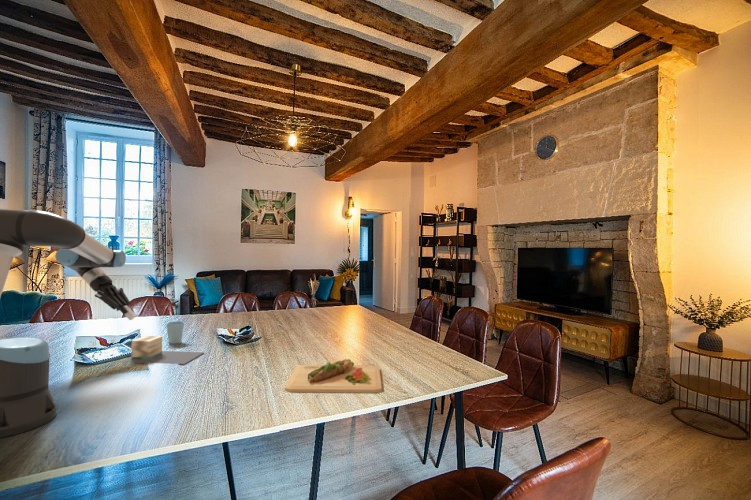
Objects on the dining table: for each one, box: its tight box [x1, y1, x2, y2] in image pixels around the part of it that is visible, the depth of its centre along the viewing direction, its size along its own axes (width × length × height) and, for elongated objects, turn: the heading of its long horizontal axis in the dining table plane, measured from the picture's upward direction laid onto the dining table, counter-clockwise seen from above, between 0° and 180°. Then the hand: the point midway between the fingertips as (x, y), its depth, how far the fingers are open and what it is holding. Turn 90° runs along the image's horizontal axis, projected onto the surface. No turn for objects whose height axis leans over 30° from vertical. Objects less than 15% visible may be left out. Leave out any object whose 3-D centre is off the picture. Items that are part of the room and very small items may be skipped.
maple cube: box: [130, 335, 163, 360], centre depth 143 cm, size 8×8×8 cm
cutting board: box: [284, 358, 382, 394], centre depth 125 cm, size 35×23×8 cm
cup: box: [166, 320, 185, 345], centre depth 165 cm, size 8×8×10 cm
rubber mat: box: [120, 350, 205, 366], centre depth 143 cm, size 28×15×1 cm, turn 88°
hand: (133, 317), depth 144 cm, fingers closed
